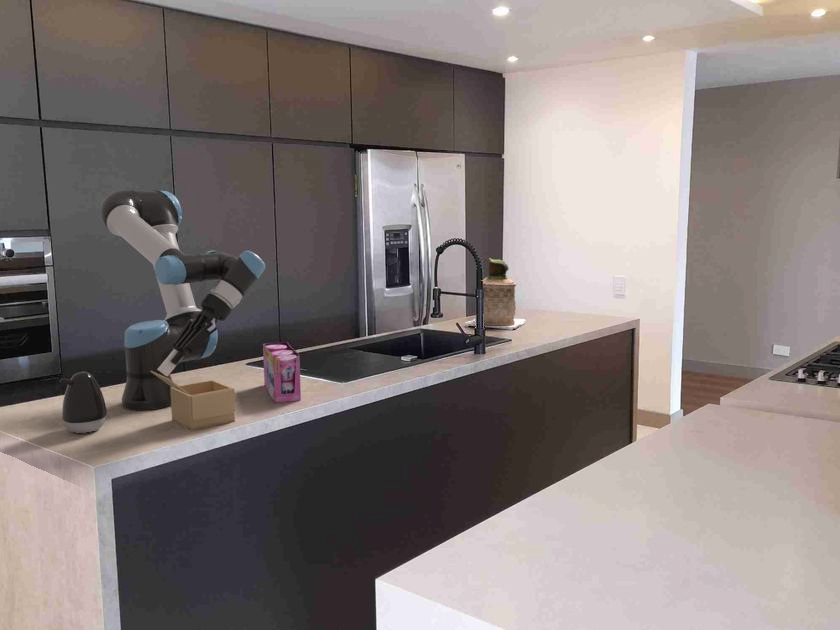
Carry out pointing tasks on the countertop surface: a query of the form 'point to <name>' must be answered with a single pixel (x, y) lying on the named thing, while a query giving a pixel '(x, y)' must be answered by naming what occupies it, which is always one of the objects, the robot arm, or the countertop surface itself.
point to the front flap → (169, 382)
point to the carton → (203, 405)
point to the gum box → (282, 372)
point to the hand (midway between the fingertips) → (162, 372)
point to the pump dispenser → (83, 404)
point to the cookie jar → (499, 298)
